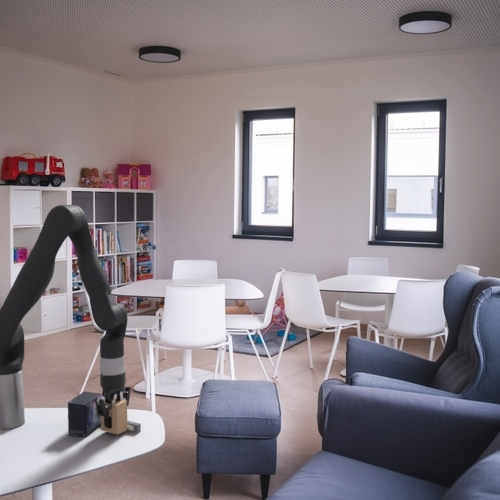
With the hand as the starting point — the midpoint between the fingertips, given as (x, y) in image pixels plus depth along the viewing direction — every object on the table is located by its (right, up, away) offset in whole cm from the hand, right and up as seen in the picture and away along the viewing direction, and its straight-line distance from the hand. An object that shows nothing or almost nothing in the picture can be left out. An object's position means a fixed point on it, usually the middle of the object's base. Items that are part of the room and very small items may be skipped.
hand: (114, 424), depth 200 cm
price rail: (-2, -2, +6) cm, 7 cm away
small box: (-9, -3, +3) cm, 10 cm away
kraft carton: (0, -2, 0) cm, 2 cm away
